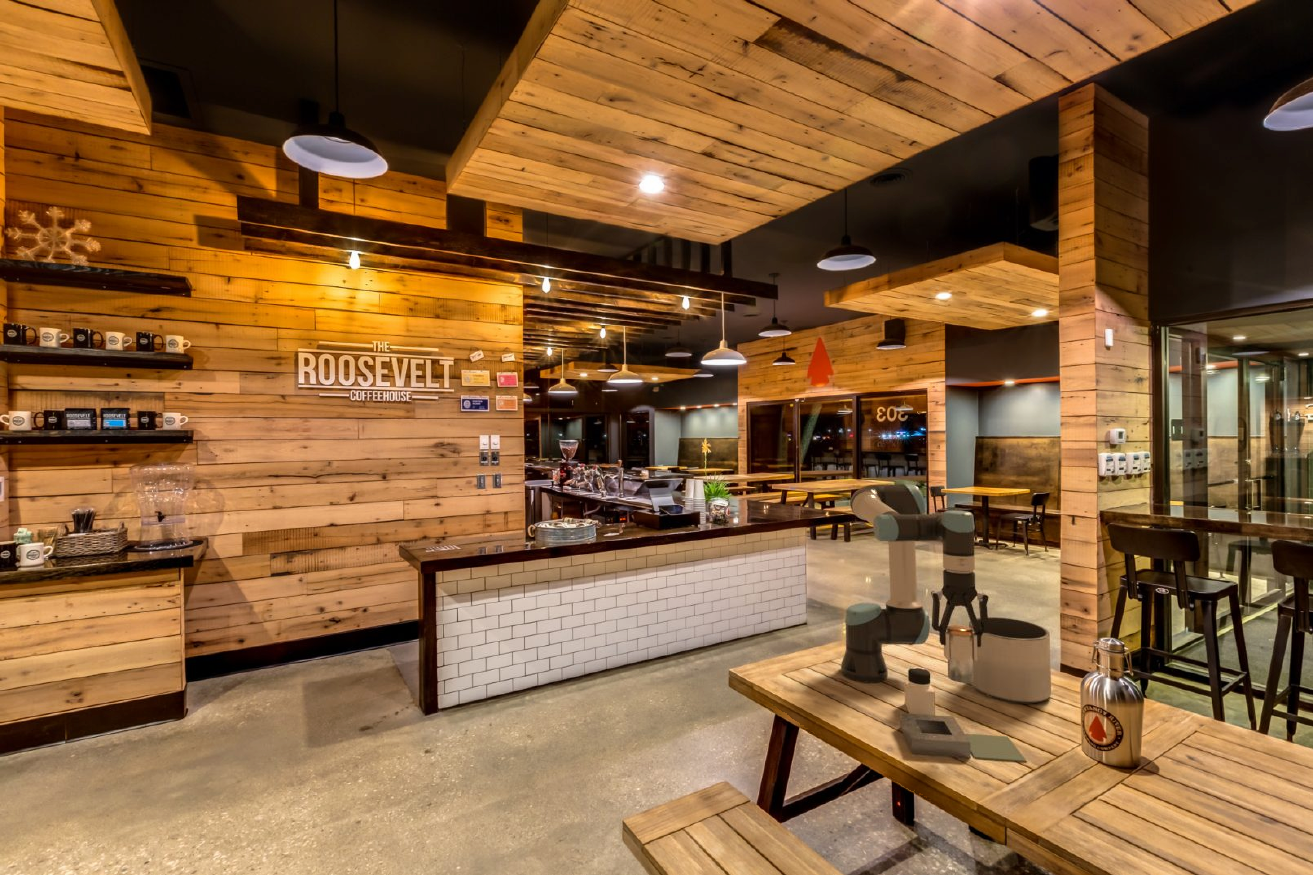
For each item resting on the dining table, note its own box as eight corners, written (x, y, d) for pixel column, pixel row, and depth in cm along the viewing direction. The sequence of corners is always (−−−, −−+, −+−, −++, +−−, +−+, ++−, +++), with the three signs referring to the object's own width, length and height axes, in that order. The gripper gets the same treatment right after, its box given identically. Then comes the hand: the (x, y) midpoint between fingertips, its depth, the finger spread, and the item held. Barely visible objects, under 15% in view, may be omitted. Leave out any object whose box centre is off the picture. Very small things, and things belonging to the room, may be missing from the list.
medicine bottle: (935, 716, 175) (934, 675, 174) (909, 714, 176) (908, 673, 176) (929, 705, 182) (928, 665, 181) (904, 703, 183) (903, 664, 183)
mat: (959, 734, 164) (959, 733, 164) (1007, 738, 162) (1007, 736, 162) (974, 758, 152) (974, 756, 152) (1026, 762, 150) (1026, 760, 150)
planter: (1005, 671, 205) (1004, 613, 205) (1069, 699, 184) (1068, 634, 184) (952, 681, 198) (952, 621, 198) (1013, 711, 177) (1012, 643, 176)
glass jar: (945, 673, 162) (944, 624, 162) (969, 674, 160) (968, 626, 160) (951, 682, 156) (950, 632, 156) (976, 683, 154) (975, 633, 154)
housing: (900, 727, 168) (899, 713, 168) (953, 730, 166) (953, 716, 166) (912, 753, 155) (911, 738, 155) (970, 758, 152) (970, 742, 152)
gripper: (923, 572, 156) (924, 660, 156) (1003, 574, 152) (1005, 665, 152) (917, 566, 164) (918, 650, 164) (993, 568, 160) (995, 655, 160)
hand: (960, 657), depth 158 cm, fingers closed on glass jar, 6 cm apart
